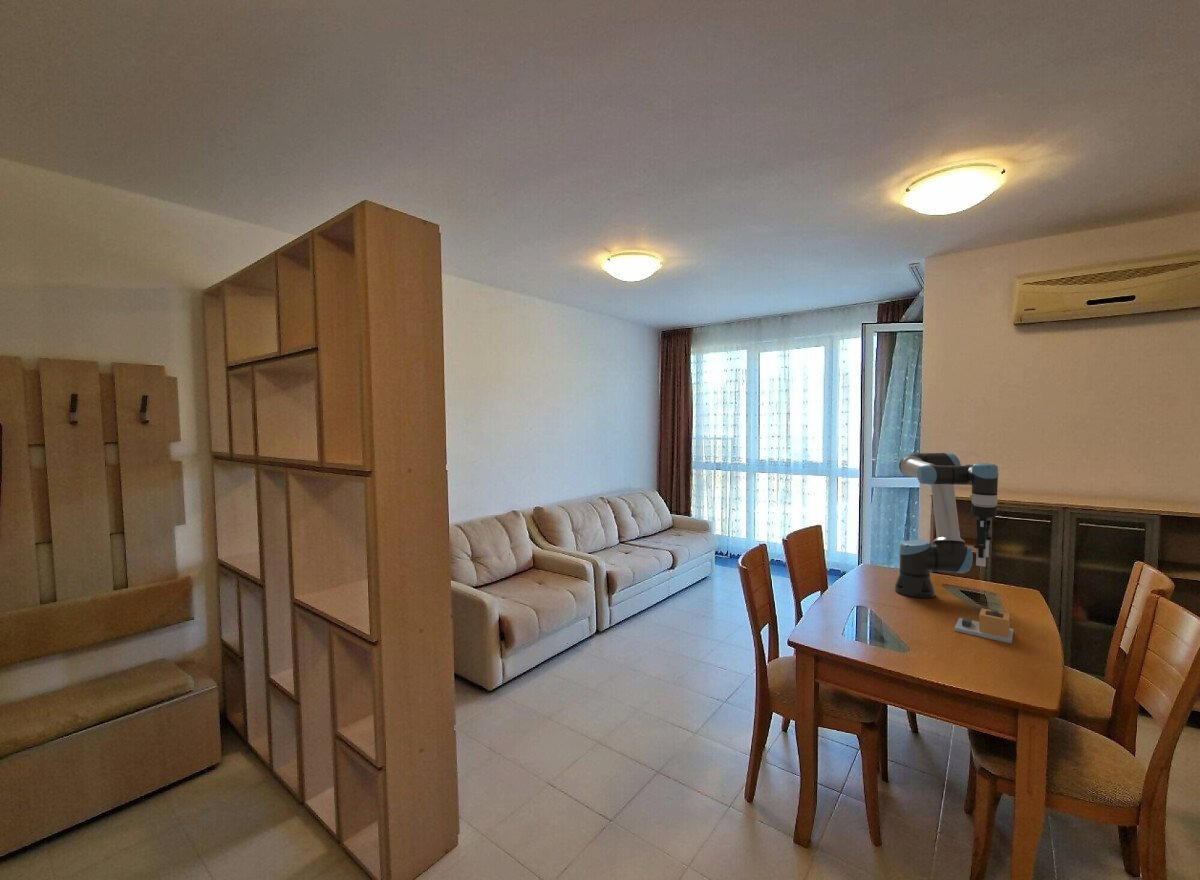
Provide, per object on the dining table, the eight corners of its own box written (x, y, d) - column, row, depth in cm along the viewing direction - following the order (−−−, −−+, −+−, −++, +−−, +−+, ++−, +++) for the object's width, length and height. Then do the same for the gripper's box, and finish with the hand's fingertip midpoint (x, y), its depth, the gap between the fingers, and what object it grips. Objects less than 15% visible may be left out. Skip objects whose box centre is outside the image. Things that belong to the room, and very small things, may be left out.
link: (981, 624, 182) (981, 608, 181) (1009, 629, 176) (1009, 613, 176) (979, 631, 176) (979, 614, 175) (1008, 637, 170) (1008, 620, 170)
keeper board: (959, 620, 188) (959, 599, 188) (1013, 632, 177) (1013, 609, 177) (954, 630, 179) (954, 608, 179) (1011, 643, 168) (1011, 620, 168)
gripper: (974, 498, 192) (973, 551, 194) (967, 509, 174) (966, 567, 176) (999, 500, 187) (997, 554, 189) (994, 512, 169) (992, 572, 171)
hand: (982, 561), depth 182 cm, fingers open, 13 cm apart
